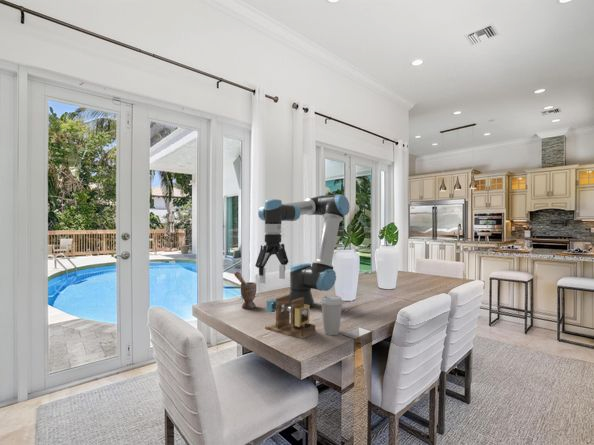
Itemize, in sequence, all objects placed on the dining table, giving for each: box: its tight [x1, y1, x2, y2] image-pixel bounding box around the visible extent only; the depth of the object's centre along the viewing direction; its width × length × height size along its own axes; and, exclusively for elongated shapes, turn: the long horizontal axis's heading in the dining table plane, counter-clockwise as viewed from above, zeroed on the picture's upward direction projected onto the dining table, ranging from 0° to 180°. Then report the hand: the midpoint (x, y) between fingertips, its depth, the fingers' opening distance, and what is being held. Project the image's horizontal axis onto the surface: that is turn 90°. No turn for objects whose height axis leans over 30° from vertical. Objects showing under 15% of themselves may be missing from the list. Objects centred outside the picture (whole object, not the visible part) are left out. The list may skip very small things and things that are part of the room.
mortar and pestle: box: [234, 271, 257, 310], centre depth 169 cm, size 12×9×20 cm
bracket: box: [264, 294, 317, 340], centre depth 135 cm, size 20×10×14 cm, turn 54°
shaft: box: [266, 298, 308, 316], centre depth 136 cm, size 20×5×5 cm, turn 54°
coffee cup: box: [320, 294, 344, 336], centre depth 132 cm, size 10×10×15 cm
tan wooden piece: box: [295, 304, 311, 327], centre depth 131 cm, size 2×7×7 cm, turn 144°
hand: (272, 280), depth 141 cm, fingers open, 13 cm apart
